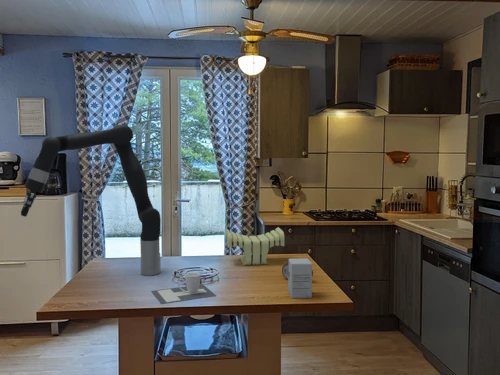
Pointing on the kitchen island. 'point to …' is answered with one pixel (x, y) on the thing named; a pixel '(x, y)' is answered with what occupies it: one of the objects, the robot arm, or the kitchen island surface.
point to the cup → (191, 282)
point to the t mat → (181, 294)
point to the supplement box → (300, 278)
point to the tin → (285, 270)
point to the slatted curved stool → (255, 245)
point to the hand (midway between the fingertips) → (23, 215)
